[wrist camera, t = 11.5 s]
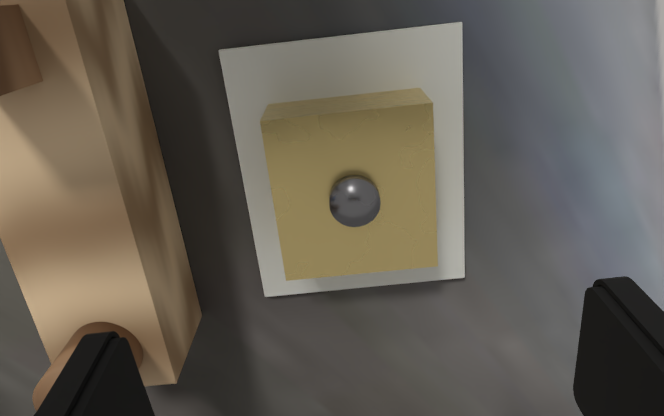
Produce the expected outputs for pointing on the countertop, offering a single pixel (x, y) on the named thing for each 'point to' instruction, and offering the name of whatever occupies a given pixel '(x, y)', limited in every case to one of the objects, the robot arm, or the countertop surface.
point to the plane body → (89, 189)
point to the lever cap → (353, 183)
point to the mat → (341, 80)
